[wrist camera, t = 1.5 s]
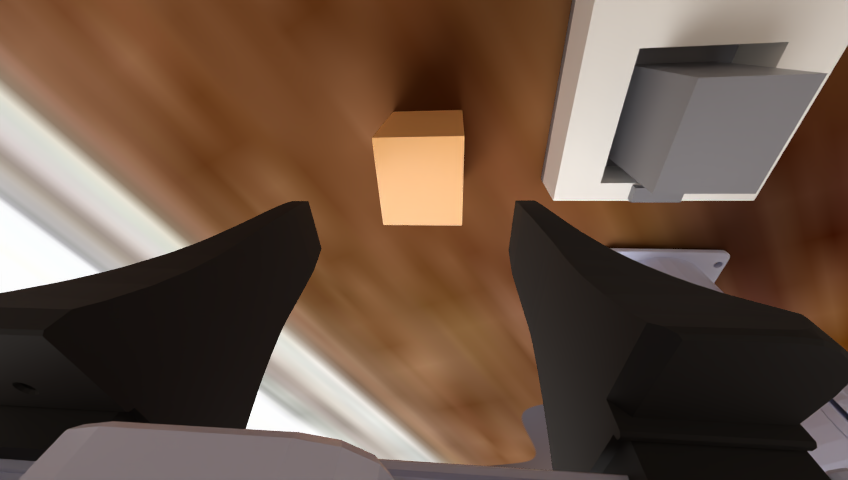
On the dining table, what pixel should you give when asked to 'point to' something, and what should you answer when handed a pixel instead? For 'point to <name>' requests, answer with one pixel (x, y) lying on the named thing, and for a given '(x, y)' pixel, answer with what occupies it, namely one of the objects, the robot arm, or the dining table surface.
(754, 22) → the white rectangular base
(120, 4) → the dining table surface
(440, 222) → the plug
